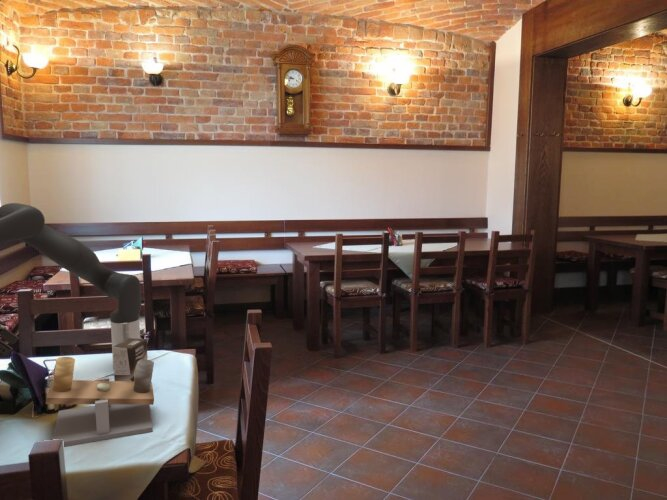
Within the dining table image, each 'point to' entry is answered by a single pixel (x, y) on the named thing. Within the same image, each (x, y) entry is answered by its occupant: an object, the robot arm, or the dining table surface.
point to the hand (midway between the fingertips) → (13, 346)
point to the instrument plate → (100, 386)
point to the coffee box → (128, 358)
